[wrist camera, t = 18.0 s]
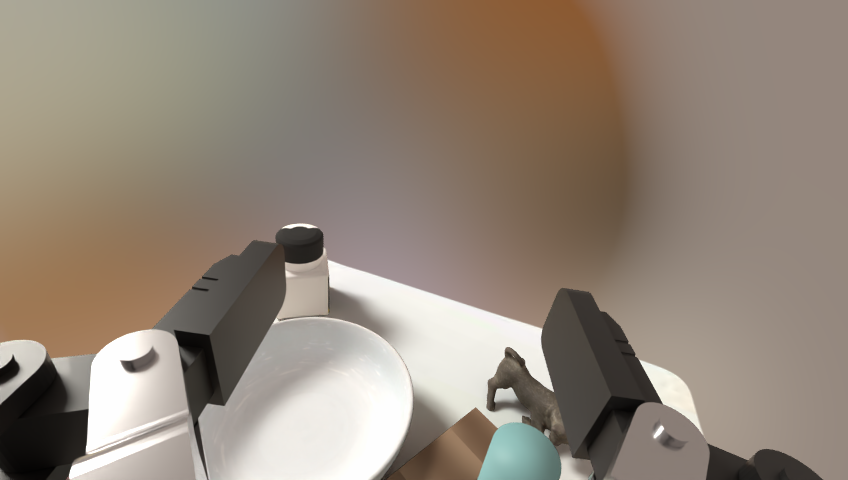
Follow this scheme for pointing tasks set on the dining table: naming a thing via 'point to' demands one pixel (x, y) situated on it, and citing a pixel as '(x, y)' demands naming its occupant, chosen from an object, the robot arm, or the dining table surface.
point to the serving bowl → (312, 407)
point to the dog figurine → (528, 396)
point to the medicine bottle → (304, 271)
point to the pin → (520, 455)
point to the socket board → (452, 452)
